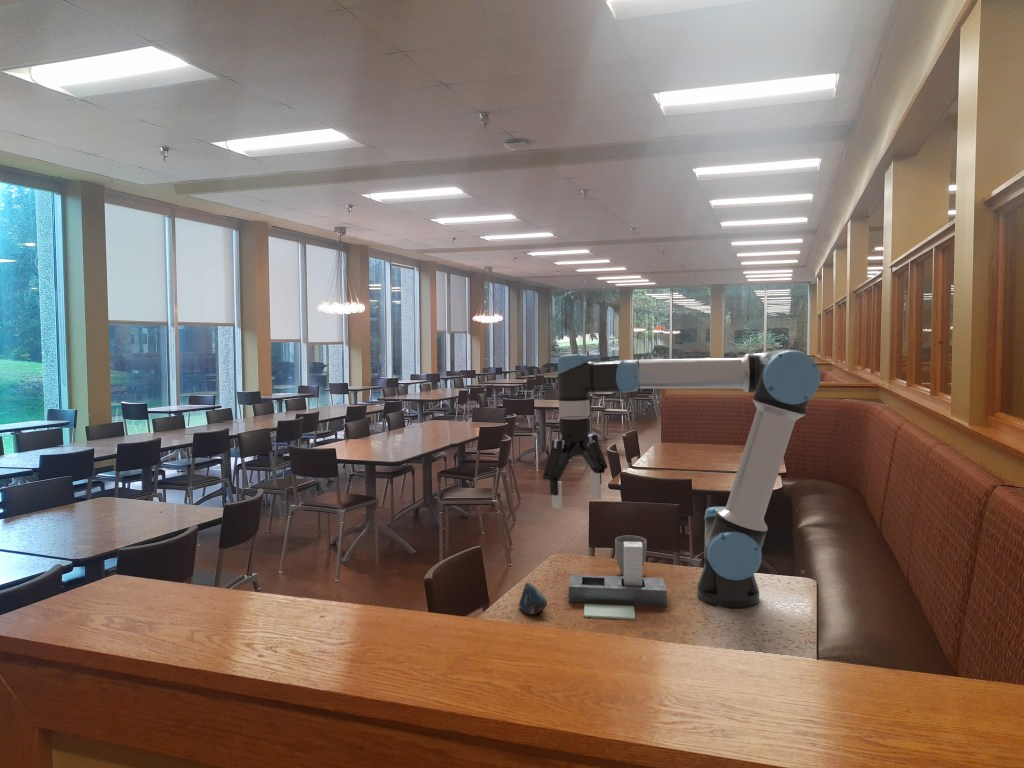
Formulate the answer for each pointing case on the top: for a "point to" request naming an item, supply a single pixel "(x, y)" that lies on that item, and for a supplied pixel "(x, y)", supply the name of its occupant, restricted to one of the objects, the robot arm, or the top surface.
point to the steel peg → (633, 564)
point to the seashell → (532, 599)
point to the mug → (620, 549)
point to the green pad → (609, 611)
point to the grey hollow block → (616, 591)
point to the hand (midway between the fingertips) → (577, 503)
